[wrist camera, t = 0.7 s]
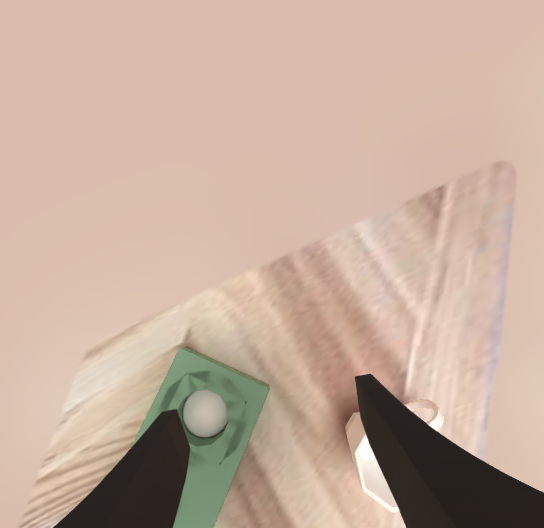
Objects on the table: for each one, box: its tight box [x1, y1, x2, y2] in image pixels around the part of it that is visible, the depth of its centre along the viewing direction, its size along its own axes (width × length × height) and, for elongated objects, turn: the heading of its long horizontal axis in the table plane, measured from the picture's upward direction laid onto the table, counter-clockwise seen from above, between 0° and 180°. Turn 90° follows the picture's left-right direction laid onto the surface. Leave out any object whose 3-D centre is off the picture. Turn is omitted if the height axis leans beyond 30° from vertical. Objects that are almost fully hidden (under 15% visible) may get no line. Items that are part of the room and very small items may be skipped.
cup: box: [345, 399, 444, 513], centre depth 28 cm, size 7×10×8 cm
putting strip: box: [131, 347, 270, 528], centre depth 29 cm, size 24×10×2 cm, turn 156°
